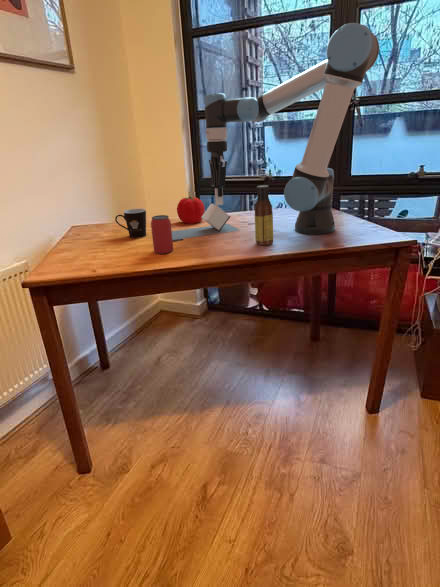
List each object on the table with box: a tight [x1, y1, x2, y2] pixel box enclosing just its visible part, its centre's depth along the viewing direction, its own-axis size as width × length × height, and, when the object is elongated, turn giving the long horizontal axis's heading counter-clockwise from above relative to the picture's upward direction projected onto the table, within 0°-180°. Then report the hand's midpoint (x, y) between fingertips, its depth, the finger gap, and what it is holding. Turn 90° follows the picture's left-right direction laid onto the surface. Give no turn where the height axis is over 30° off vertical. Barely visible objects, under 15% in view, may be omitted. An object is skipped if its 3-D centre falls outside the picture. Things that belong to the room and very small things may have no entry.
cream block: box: [201, 203, 231, 231], centre depth 152 cm, size 7×7×7 cm
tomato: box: [176, 196, 206, 225], centre depth 167 cm, size 12×13×12 cm
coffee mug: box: [115, 208, 147, 239], centre depth 150 cm, size 12×9×10 cm
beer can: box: [150, 214, 174, 255], centre depth 129 cm, size 7×7×12 cm
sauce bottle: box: [254, 184, 274, 247], centre depth 130 cm, size 7×6×20 cm
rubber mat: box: [172, 223, 240, 243], centre depth 152 cm, size 13×28×1 cm, turn 112°
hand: (219, 204), depth 151 cm, fingers closed
